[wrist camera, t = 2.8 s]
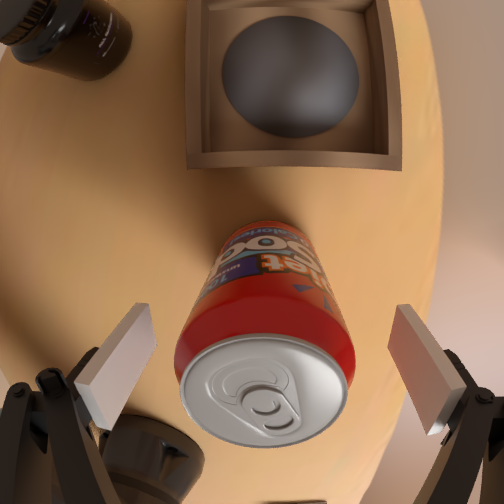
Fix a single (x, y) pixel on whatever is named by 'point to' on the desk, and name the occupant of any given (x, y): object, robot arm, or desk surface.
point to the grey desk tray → (315, 503)
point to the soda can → (265, 343)
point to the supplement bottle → (66, 36)
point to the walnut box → (292, 84)
